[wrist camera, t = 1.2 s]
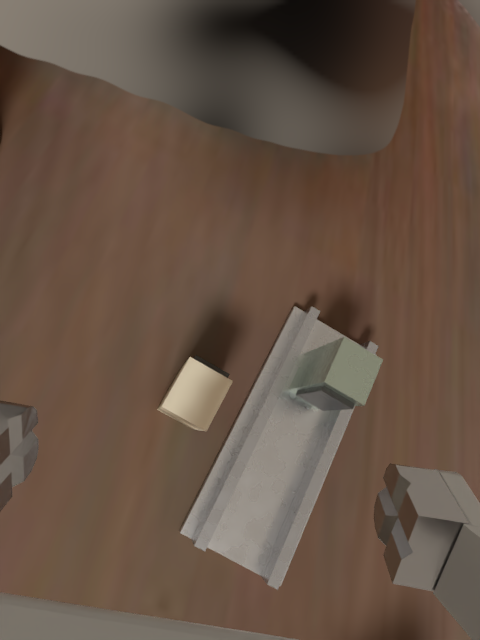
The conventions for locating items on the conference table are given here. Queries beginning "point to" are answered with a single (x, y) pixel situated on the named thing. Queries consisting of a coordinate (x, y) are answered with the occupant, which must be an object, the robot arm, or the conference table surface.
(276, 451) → the rail
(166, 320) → the conference table surface
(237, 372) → the conference table surface
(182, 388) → the wooden block
